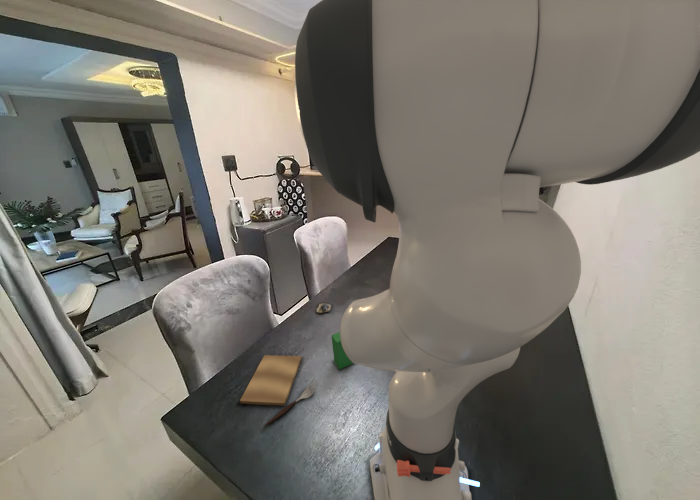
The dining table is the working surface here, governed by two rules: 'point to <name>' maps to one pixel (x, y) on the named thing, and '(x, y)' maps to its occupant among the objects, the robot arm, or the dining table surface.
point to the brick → (339, 352)
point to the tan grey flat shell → (323, 308)
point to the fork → (305, 394)
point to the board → (272, 381)
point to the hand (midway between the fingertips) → (403, 205)
